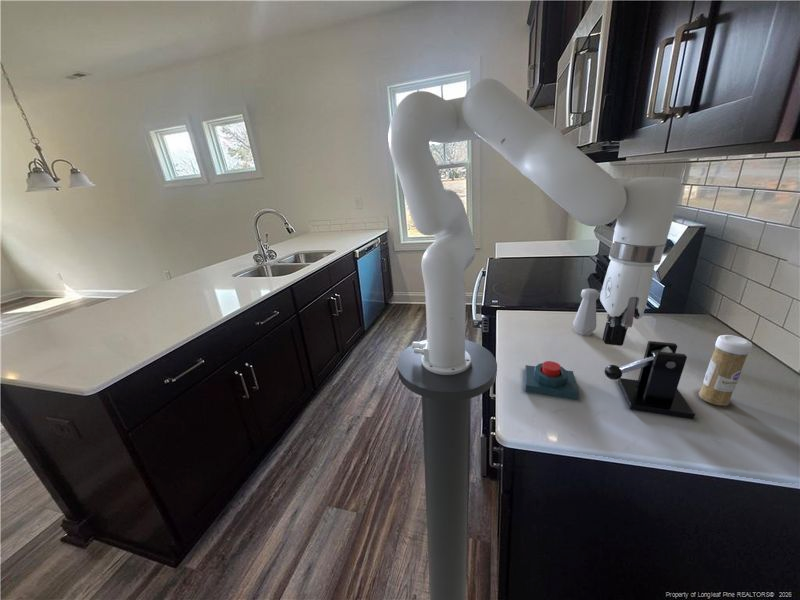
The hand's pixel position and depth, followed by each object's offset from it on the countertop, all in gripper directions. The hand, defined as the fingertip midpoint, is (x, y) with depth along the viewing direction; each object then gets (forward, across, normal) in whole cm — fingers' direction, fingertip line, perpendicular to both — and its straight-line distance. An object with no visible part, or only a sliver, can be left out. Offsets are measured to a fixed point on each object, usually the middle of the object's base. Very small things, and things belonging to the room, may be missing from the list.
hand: (612, 342), depth 63 cm
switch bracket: (+12, 0, +9) cm, 15 cm away
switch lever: (+5, 0, +6) cm, 8 cm away
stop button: (+9, 0, -10) cm, 13 cm away
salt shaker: (+12, -28, +1) cm, 30 cm away
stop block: (+12, 0, -10) cm, 16 cm away
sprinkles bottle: (+11, -3, +20) cm, 23 cm away
